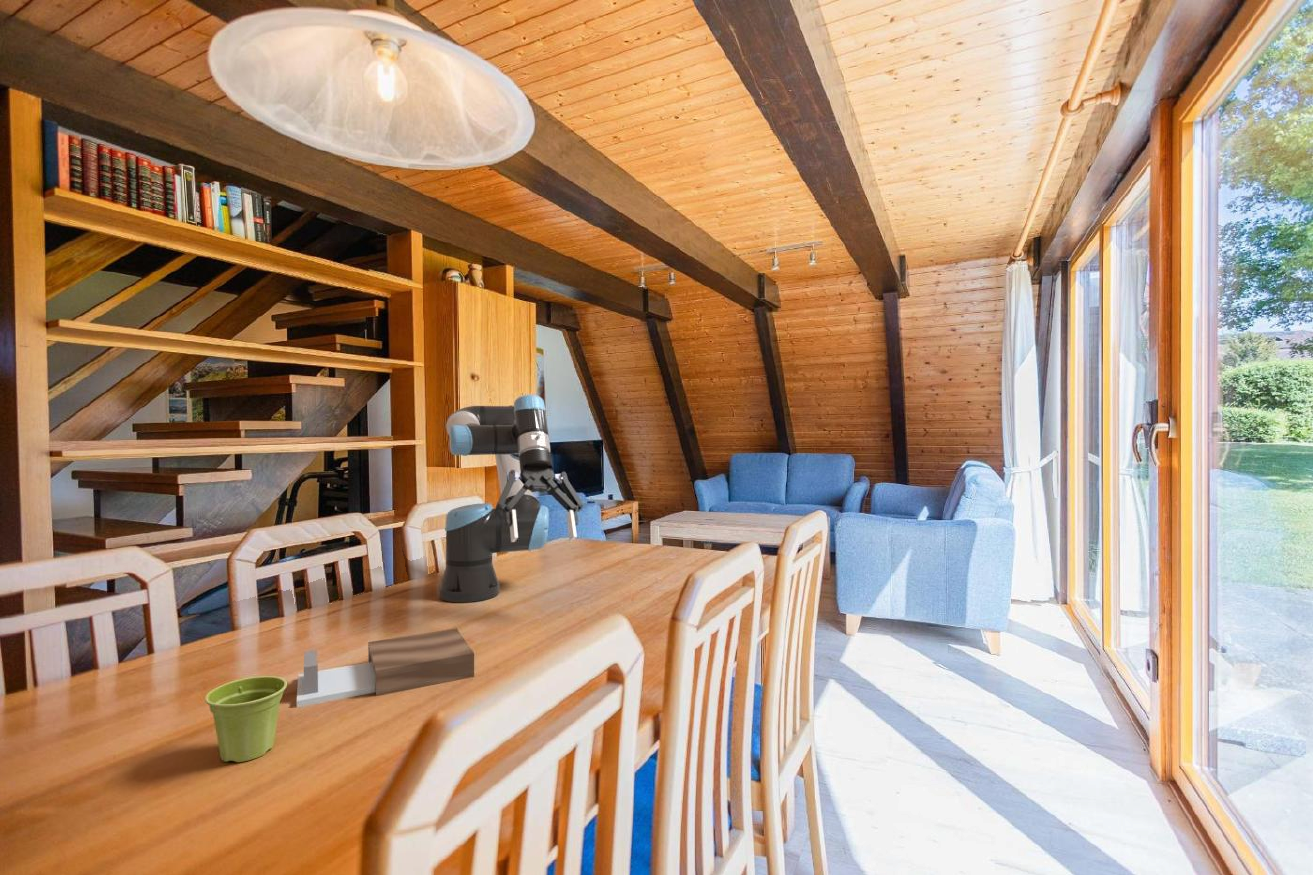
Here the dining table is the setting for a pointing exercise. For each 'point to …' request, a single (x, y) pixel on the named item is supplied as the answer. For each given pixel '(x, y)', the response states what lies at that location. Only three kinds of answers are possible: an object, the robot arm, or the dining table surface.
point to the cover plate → (332, 681)
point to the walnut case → (420, 660)
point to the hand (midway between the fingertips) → (544, 539)
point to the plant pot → (246, 716)
